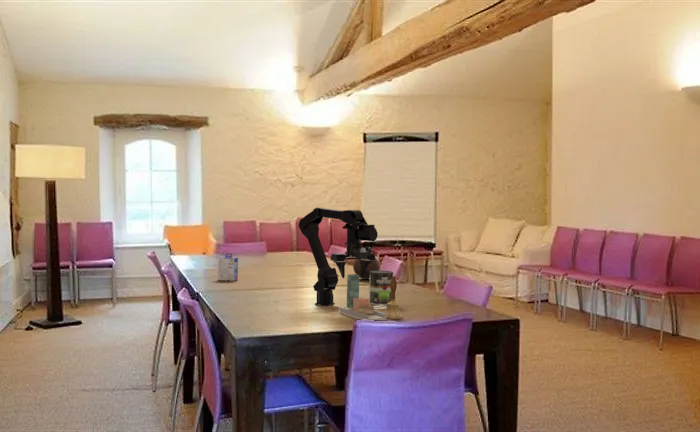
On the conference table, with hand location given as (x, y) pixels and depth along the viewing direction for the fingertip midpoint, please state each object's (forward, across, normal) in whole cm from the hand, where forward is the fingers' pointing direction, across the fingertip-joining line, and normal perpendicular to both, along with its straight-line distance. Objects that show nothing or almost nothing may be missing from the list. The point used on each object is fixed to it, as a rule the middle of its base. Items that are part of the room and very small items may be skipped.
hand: (352, 277), depth 282 cm
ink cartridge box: (+13, -15, +108) cm, 110 cm away
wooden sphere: (+13, +56, +80) cm, 98 cm away
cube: (+10, -6, -16) cm, 20 cm away
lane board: (+13, -1, -17) cm, 22 cm away
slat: (+12, -6, -14) cm, 19 cm away
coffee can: (+13, +18, +6) cm, 23 cm away
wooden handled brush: (+13, +5, -23) cm, 27 cm away
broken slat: (+13, +4, -13) cm, 19 cm away
